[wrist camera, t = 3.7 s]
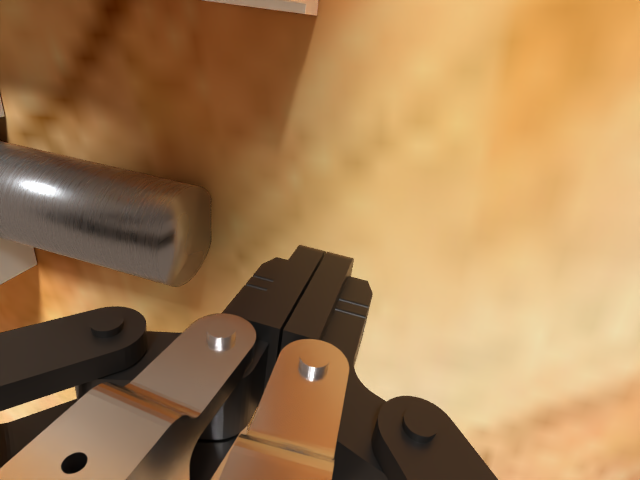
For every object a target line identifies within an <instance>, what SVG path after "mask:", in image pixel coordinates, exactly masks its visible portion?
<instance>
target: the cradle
mask: <svg viewBox="0 0 640 480" xmlns="http://www.w3.org/2000/svg"><path fill="white" fill-rule="evenodd" d="M203 1H211V2H218V3H225V4H233V5H240V6H248V7H255V8H263V9H270V10H278V11H285V12H293V13H300V14H308V15H315V16H317V11H318V1H319V0H203Z"/></svg>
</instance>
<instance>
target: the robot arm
mask: <svg viewBox="0 0 640 480" xmlns="http://www.w3.org/2000/svg"><path fill="white" fill-rule="evenodd" d="M353 261H354V259H353V258H350V257H346V256H342V255H338V254H334V253H330V252H327V253H326V252H325V251H322V250H318V249H314V248H310V247H306V246H302V245H299V246H298V247H297V249H296V250H295V251H294V253H293V254H292V256H291V257H290V258H289V260H285V259H281V258H277V257H276V258H274V259H272V260H270V261H268V262H266V263H264V264H262V265H261V266H260V267H259V269H258V270H257V271H256V272H255V273H254V275H253V277H251V278H250V280H249V281H248V282H247V284H246V285H245V286H244V287H243V288H242V289H241V290H240V292H239V293H238V294H237V295H236V297H235V298H234V299H233V300H232V301H231V303H230V304H229V305H228V306H227V308H226V309H225V310H224V311H223V312H222V314H212V315H208V316H205V317H202V318H200V319H198V320H196V321H195V322H194V323H192V324H191V325H190V326H189V327H188V328H187V329H186V330H185V331H184V332H183V333H171V332H152V331H146V321H145V318H144V317H143V315H142V314H140V313H139V312H137V311H136V310H133V309H130V308H126V307H104V308H99V309H95V310H91V311H87V312H83V313H79V314H75V315H71V316H67V317H63V318H59V319H55V320H51V321H46V322H42V323H38V324H34V325H30V326H26V327H22V328H18V329H14V330H10V331H6V332H2V333H0V411H2V410H5V409H8V408H11V407H14V406H17V405H20V404H23V403H26V402H29V401H32V400H35V399H38V398H41V397H44V396H47V395H50V394H53V393H56V392H59V391H62V390H65V389H68V388H71V387H74V386H75V390H76V396H77V399H75V400H72V401H69V402H66V403H63V404H61V405H58V406H55V407H52V408H49V409H46V410H43V411H41V412H38V413H35V414H32V415H29V416H26V417H23V418H21V419H18V420H15V421H12V422H9V423H4V424H0V480H498V479H497V478H496V476H495V475H494V474H493V472H492V471H491V470H490V469H489V467H488V466H487V465H486V463H485V462H484V461H483V460H482V458H481V457H480V456H479V455H478V453H477V452H476V451H475V449H474V448H473V447H472V446H471V444H470V443H469V442H468V440H467V439H466V438H465V437H464V435H463V434H462V433H461V431H460V430H459V429H458V428H457V426H456V425H455V424H454V422H453V421H452V420H451V419H450V418H449V416H448V415H447V414H446V413H445V412H444V411H443V410H441V409H440V408H439V407H437V406H436V405H434V404H433V403H431V402H429V401H427V400H424V399H421V398H418V397H412V396H400V397H395V398H393V399H390V400H389V401H387V402H386V401H385V400H383V399H381V398H380V397H378V396H377V395H375V394H374V393H372V392H371V391H369V390H368V389H367V388H366V387H365V386H364V385H363V384H362V383H361V381H360V380H359V378H358V377H357V375H356V373H355V369H354V365H355V361H356V358H357V354H358V351H359V347H360V344H361V340H362V336H363V332H364V328H365V323H366V319H367V315H368V311H369V307H370V303H371V299H372V291H371V288H370V286H369V283H368V281H365V280H361V279H357V278H354V277H351V272H352V267H353ZM257 407H258V408H257ZM256 408H257V410H256ZM255 410H256V413H255V415H254V418H253V420H252V423H251V425H250V428H249V430H248V423H249V422H250V420H251V418H252V416H253V414H254V412H255ZM247 430H248V432H247Z"/></svg>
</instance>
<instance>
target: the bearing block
mask: <svg viewBox="0 0 640 480" xmlns="http://www.w3.org/2000/svg"><path fill="white" fill-rule="evenodd" d="M0 117H5V116H4V111H3V107H2V102H1V97H0ZM35 265H37V261H36V256H35V252H34V247H31V246H28V245H24V244H20V243H17V242H13V241H10V240H6V239H3V238H0V284H2V283H4V282H6V281H8V280H10V279H11V278H13V277H15V276H17V275H19V274H21V273H22V272H24V271H26V270H28V269H30V268H32V267H33V266H35Z"/></svg>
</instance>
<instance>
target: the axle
mask: <svg viewBox="0 0 640 480" xmlns="http://www.w3.org/2000/svg"><path fill="white" fill-rule="evenodd" d="M0 238H3V239H6V240H10V241H13V242H17V243H20V244H24V245H28V246H31V247H35V248H38V249H42V250H45V251H49V252H52V253H56V254H60V255H63V256H67V257H70V258H74V259H77V260H81V261H84V262H88V263H92V264H95V265H99V266H102V267H106V268H109V269H113V270H116V271H120V272H124V273H127V274H131V275H134V276H138V277H141V278H145V279H148V280H152V281H156V282H159V283H163V284H166V285H170V286H174V287H177V286H181V285H184V284H185V283H187V282H188V281H189V280H190V279H191V278H192V277H193V276H194V275H195V274H196V273H197V271H198V270H199V268H200V267H201V265H202V263H203V261H204V259H205V257H206V255H207V252H208V250H209V247H210V243H211V197H210V195H209V193H208V192H207V190H205V189H204V188H203V187H200V186H196V185H191V184H187V183H182V182H178V181H174V180H169V179H165V178H160V177H156V176H152V175H147V174H143V173H138V172H134V171H130V170H125V169H121V168H116V167H112V166H108V165H103V164H99V163H94V162H90V161H86V160H81V159H77V158H72V157H68V156H63V155H59V154H55V153H50V152H46V151H41V150H37V149H33V148H28V147H24V146H19V145H15V144H11V143H6V142H2V141H0Z"/></svg>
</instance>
